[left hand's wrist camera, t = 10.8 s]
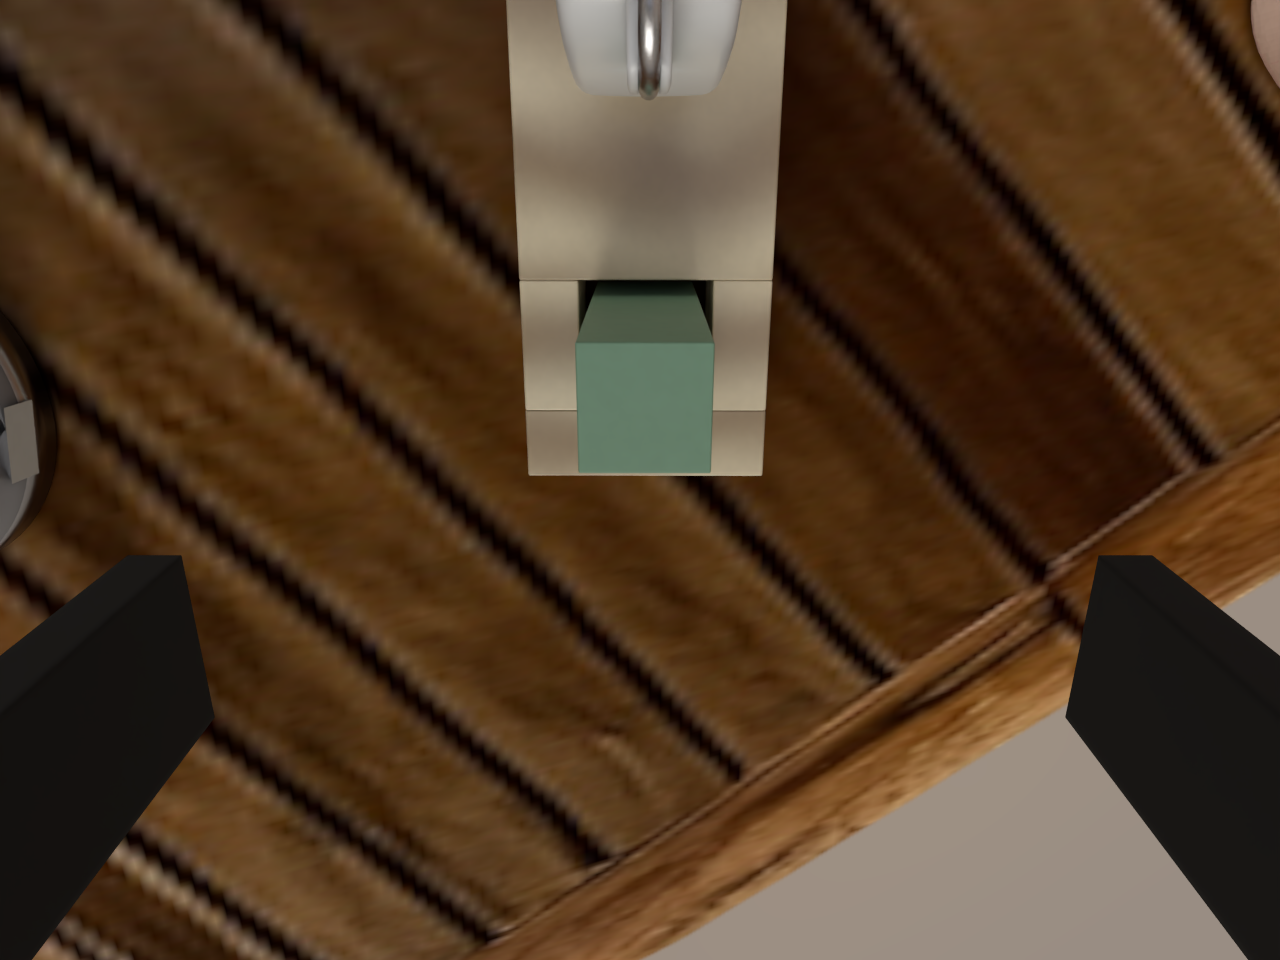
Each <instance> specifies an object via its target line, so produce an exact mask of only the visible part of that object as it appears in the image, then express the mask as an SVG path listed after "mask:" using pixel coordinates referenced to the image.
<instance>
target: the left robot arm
mask: <svg viewBox="0 0 1280 960" xmlns="http://www.w3.org/2000/svg"><path fill="white" fill-rule="evenodd" d="M55 462H56V430H55V422H54V416H53V411H52V406H51V403H50V400H49V396H48V393H47V389H46V387H45V384H44V382H43V379H42V377H41V374H40V372H39V370H38V368H37V366H36V364H35V362H34V360H33V358H32V356H31V354H30V352H29V351H28V349H27V347H26V346H25V344H24V343H23V341H22V339H21V338H20V336H19V335H18V333H17V332H16V331H15V329H14V328H13V327H12V325H11V324H10V322H9V321H8V320H7V319H6V317H5V316H4V315H3V314H2V313H1V312H0V550H1V549H2V548H4V547H5V546H7V545H9V544H10V543H11V542H12V541H14V540H15V539H16V538H17V537H18V536H20V535H21V534H22V533H23V531H24V530H25V529H26V528H27V527H28V526H29V525H30V524H31V522H32V521H33V520H34V518H35V517H36V515H37V514H38V513H39V511H40V509H41V507H42V505H43V503H44V502H45V500H46V497H47V494H48V492H49V489H50V487H51V483H52V479H53V475H54V470H55ZM213 719H214V712H213V707H212V702H211V697H210V692H209V688H208V683H207V678H206V673H205V668H204V663H203V658H202V654H201V649H200V644H199V639H198V634H197V629H196V624H195V620H194V615H193V610H192V605H191V600H190V595H189V590H188V585H187V581H186V576H185V571H184V566H183V561H182V556H181V555H128V556H127V557H125V558H124V559H123V560H121V561H120V562H119V563H118V564H116V565H115V566H114V567H113V568H111V569H110V570H109V571H107V572H106V573H105V574H104V575H102V576H101V577H100V578H99V579H97V580H96V581H95V582H93V583H92V584H91V585H90V586H88V587H87V588H86V589H85V590H83V591H82V592H81V593H79V594H78V595H77V596H76V597H74V598H73V599H72V600H71V601H69V602H68V603H67V604H65V605H64V606H63V607H62V608H60V609H59V610H58V611H57V612H55V613H54V614H53V615H51V616H50V617H49V618H48V619H46V620H45V621H44V622H43V623H41V624H40V625H39V626H37V627H36V628H35V629H34V630H32V631H31V632H30V633H29V634H27V635H26V636H25V637H23V638H22V639H21V640H20V641H18V642H17V643H16V644H15V645H13V646H12V647H11V648H9V649H8V650H7V651H6V652H4V653H3V654H2V655H1V656H0V960H32V959H33V958H34V956H35V955H36V954H37V952H38V951H39V950H40V948H41V947H42V946H43V944H44V943H45V942H46V940H47V939H48V938H49V936H50V935H51V934H52V932H53V931H54V930H55V928H56V927H57V926H58V924H59V923H60V922H61V920H62V919H63V918H64V916H65V915H66V914H67V912H68V911H69V910H70V908H71V907H72V906H73V904H74V903H75V902H76V900H77V899H78V898H79V896H80V895H81V894H82V893H83V891H84V890H85V889H86V887H87V886H88V885H89V883H90V882H91V881H92V879H93V878H94V877H95V875H96V874H97V873H98V871H99V870H100V869H101V867H102V866H103V865H104V863H105V862H106V861H107V859H108V858H109V857H110V855H111V854H112V853H113V851H114V850H115V849H116V847H117V846H118V845H119V843H120V842H121V841H122V839H123V838H124V837H125V835H126V834H127V833H128V831H129V830H130V829H131V828H132V826H133V825H134V824H135V822H136V821H137V820H138V818H139V817H140V816H141V814H142V813H143V812H144V810H145V809H146V808H147V806H148V805H149V804H150V802H151V801H152V800H153V798H154V797H155V796H156V794H157V793H158V792H159V790H160V789H161V788H162V786H163V785H164V784H165V782H166V781H167V780H168V778H169V777H170V776H171V774H172V773H173V772H174V770H175V769H176V768H177V766H178V765H179V764H180V762H181V761H182V760H183V759H184V757H185V756H186V755H187V753H188V752H189V751H190V749H191V748H192V747H193V745H194V744H195V743H196V741H197V740H198V739H199V737H200V736H201V735H202V733H203V732H204V731H205V729H206V728H207V727H208V725H209V724H210V723H211V721H212V720H213ZM1066 719H1067V720H1068V721H1069V723H1070V724H1071V725H1072V727H1073V728H1074V729H1075V731H1076V732H1077V733H1078V735H1079V736H1080V737H1081V739H1082V740H1083V741H1084V743H1085V744H1086V745H1087V747H1088V748H1089V749H1090V750H1091V752H1092V753H1093V755H1094V756H1095V757H1096V758H1097V760H1098V761H1099V762H1100V764H1101V765H1102V766H1103V768H1104V769H1105V770H1106V772H1107V773H1108V774H1109V776H1110V777H1111V778H1112V780H1113V781H1114V782H1115V784H1116V785H1117V786H1118V788H1119V789H1120V790H1121V792H1122V793H1123V794H1124V796H1125V797H1126V798H1127V800H1128V801H1129V802H1130V804H1131V805H1132V806H1133V808H1134V809H1135V810H1136V812H1137V813H1138V814H1139V816H1140V817H1141V818H1142V820H1143V821H1144V822H1145V824H1146V825H1147V826H1148V828H1149V829H1150V830H1151V831H1152V833H1153V834H1154V835H1155V837H1156V838H1157V839H1158V841H1159V842H1160V843H1161V845H1162V846H1163V847H1164V849H1165V850H1166V851H1167V853H1168V854H1169V855H1170V857H1171V858H1172V859H1173V861H1174V862H1175V863H1176V865H1177V866H1178V867H1179V869H1180V870H1181V871H1182V873H1183V874H1184V875H1185V876H1186V878H1187V879H1188V881H1189V882H1190V883H1191V885H1192V886H1193V887H1194V888H1195V890H1196V891H1197V893H1198V894H1199V895H1200V896H1201V898H1202V899H1203V900H1204V902H1205V903H1206V904H1207V906H1208V907H1209V908H1210V910H1211V911H1212V912H1213V914H1214V915H1215V916H1216V918H1217V919H1218V920H1219V922H1220V923H1221V924H1222V926H1223V927H1224V928H1225V930H1226V931H1227V932H1228V934H1229V935H1230V936H1231V938H1232V939H1233V940H1234V942H1235V943H1236V944H1237V946H1238V947H1239V948H1240V950H1241V951H1242V952H1243V954H1244V955H1245V956H1246V958H1247V959H1248V960H1280V656H1279V655H1278V654H1277V653H1276V652H1274V651H1273V650H1272V649H1270V648H1269V647H1268V646H1267V645H1265V644H1264V643H1263V642H1262V641H1260V640H1259V639H1258V638H1257V637H1255V636H1254V635H1253V634H1251V633H1250V632H1249V631H1248V630H1246V629H1245V628H1244V627H1242V626H1241V625H1240V624H1239V623H1237V622H1236V621H1235V620H1234V619H1232V618H1231V617H1230V616H1229V615H1227V614H1226V613H1225V612H1223V611H1222V610H1221V609H1220V608H1218V607H1217V606H1216V605H1215V604H1213V603H1212V602H1211V601H1209V600H1208V599H1207V598H1206V597H1204V596H1203V595H1202V594H1201V593H1199V592H1198V591H1197V590H1195V589H1194V588H1193V587H1192V586H1190V585H1189V584H1188V583H1187V582H1185V581H1184V580H1183V579H1181V578H1180V577H1179V576H1178V575H1176V574H1175V573H1174V572H1173V571H1171V570H1170V569H1169V568H1167V567H1166V566H1165V565H1164V564H1162V563H1161V562H1160V561H1159V560H1157V559H1156V558H1155V557H1153V556H1152V555H1099V556H1098V561H1097V566H1096V571H1095V576H1094V581H1093V585H1092V590H1091V595H1090V600H1089V605H1088V610H1087V615H1086V620H1085V624H1084V629H1083V634H1082V639H1081V644H1080V649H1079V654H1078V658H1077V663H1076V668H1075V673H1074V678H1073V683H1072V688H1071V692H1070V697H1069V702H1068V707H1067V712H1066Z"/></svg>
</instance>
